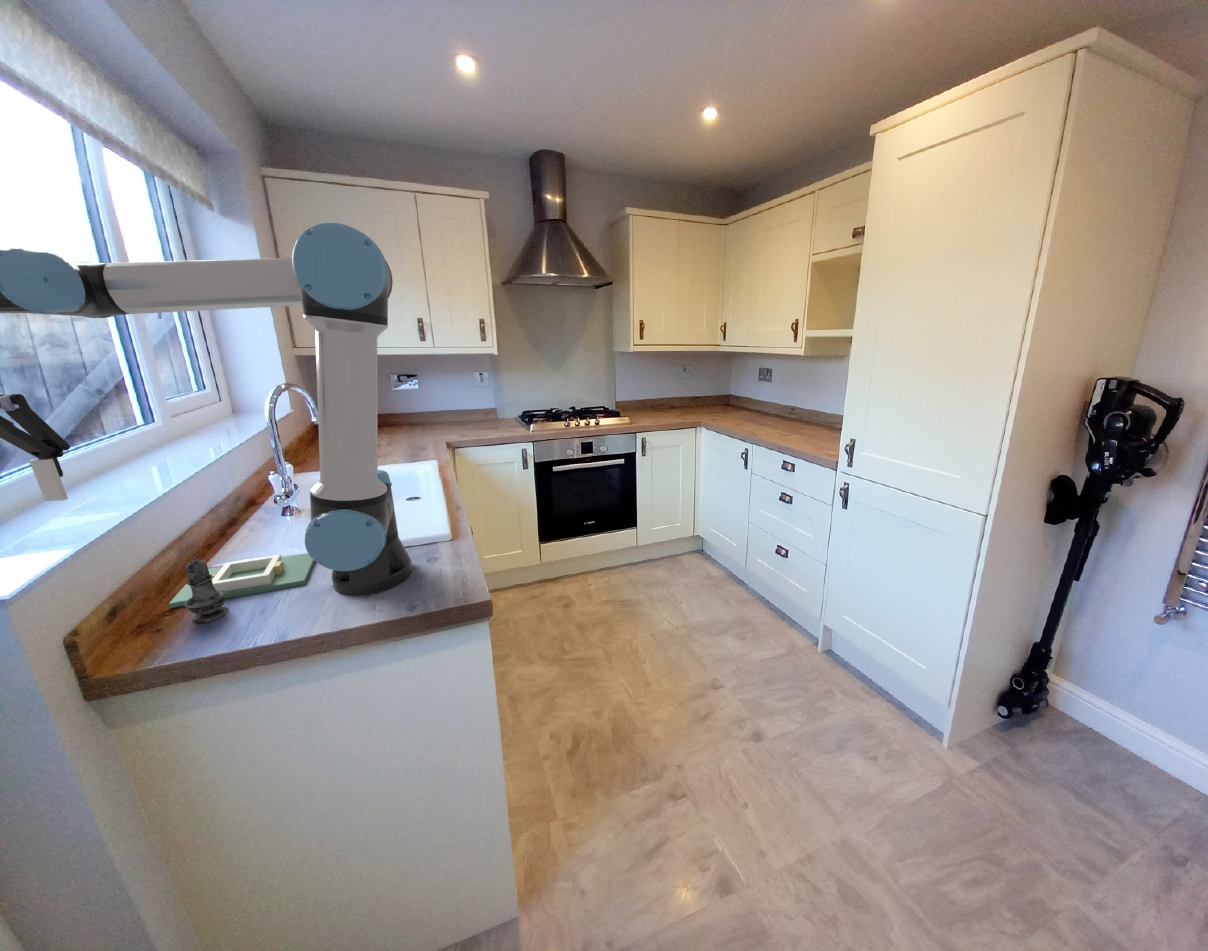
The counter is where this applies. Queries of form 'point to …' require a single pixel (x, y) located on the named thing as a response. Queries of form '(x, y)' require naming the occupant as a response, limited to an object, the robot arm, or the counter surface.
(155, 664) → the counter surface
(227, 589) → the header board
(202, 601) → the dark grey tiered ornament
